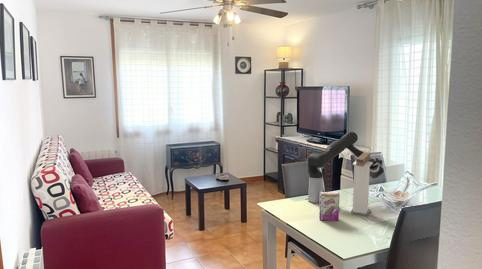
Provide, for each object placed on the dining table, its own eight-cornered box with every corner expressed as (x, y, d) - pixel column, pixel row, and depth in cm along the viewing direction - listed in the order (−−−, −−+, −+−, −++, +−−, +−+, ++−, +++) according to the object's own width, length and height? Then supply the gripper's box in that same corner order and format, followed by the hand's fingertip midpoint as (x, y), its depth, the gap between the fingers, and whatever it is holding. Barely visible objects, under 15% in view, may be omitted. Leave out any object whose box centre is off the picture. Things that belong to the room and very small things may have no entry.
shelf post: (367, 216, 222) (369, 165, 217) (350, 213, 226) (352, 163, 222) (370, 211, 230) (372, 161, 226) (354, 208, 235) (356, 160, 231)
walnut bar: (363, 166, 214) (363, 159, 214) (356, 165, 216) (356, 159, 216) (370, 158, 235) (370, 152, 235) (363, 158, 237) (363, 152, 236)
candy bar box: (319, 220, 215) (320, 194, 213) (318, 217, 220) (319, 191, 218) (339, 221, 214) (339, 194, 212) (337, 218, 219) (338, 191, 217)
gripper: (363, 159, 262) (359, 152, 249) (384, 161, 255) (381, 154, 242) (362, 169, 260) (358, 162, 246) (383, 171, 253) (380, 165, 239)
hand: (369, 158), depth 244 cm, fingers open, 8 cm apart
